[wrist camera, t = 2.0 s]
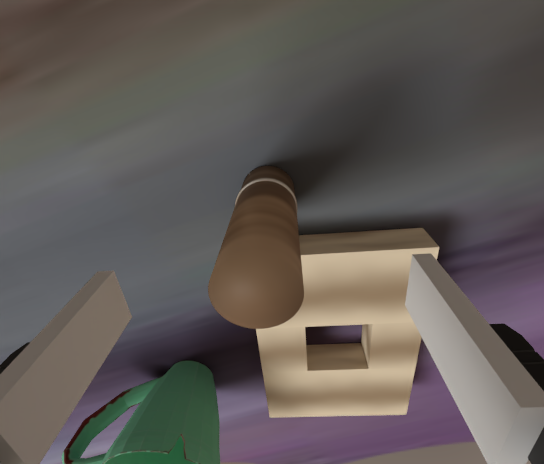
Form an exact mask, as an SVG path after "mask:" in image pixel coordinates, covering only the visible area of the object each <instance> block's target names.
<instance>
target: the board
mask: <svg viewBox="0 0 544 464" xmlns="http://www.w3.org/2000/svg"><path fill="white" fill-rule="evenodd" d="M299 243H300V253H301V264H302V274H303V285H304V299H303V303H302V305H301V307H300V309H299V311H298V312H297V313H296V314H295V315H294V316H293V317H292V318H291V319H289V320H288V321H286V322H285V323H283V324H281V325H278V326H275V327H271V328H265V329H256V333H257V339H258V345H259V352H260V358H261V365H262V371H263V377H264V384H265V390H266V397H267V403H268V409H269V416H270V418H271V417H317V416H363V415H406V413H407V408H408V403H409V398H410V393H411V388H412V383H413V378H414V373H415V368H416V363H417V358H418V353H419V348H420V343H421V338H422V337H421V335H420V333H419V331H418V329H417V327H416V325H415V324H414V322H413V320H412V318H411V316H410V314H409V312H408V310H407V308H406V306H405V301H406V294H407V287H408V280H409V273H410V266H411V259H412V254H428V253H431V254H432V255H433V256H434V258H435V259H436V260H437V257H438V252H439V246H438V245H437V244H436V243H435V241H434V240H433V239H432V238H431V237H430V236H429V235H428V233H427V232H426V231H425V230H424V229H423V228H409V229H393V230H377V231H361V232H345V233H330V234H314V235H299ZM339 325H362V339H361V343H347V344H320V345H306V333H305V327H315V326H339Z"/></svg>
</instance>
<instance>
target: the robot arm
mask: <svg viewBox="0 0 544 464" xmlns="http://www.w3.org/2000/svg"><path fill="white" fill-rule="evenodd" d="M405 306H406V308H407V310H408V312H409V314H410V316H411V318H412V320H413V322H414V324H415V325H416V327H417V329H418V331H419V333H420V335H421V337H422V339H423V341H424V343H425V345H426V347H427V349H428V350H429V352H430V354H431V356H432V358H433V360H434V362H435V364H436V366H437V368H438V370H439V372H440V373H441V375H442V377H443V379H444V381H445V383H446V385H447V387H448V389H449V391H450V393H451V395H452V396H453V398H454V400H455V402H456V404H457V406H458V408H459V410H460V412H461V414H462V416H463V418H464V419H465V421H466V423H467V425H468V427H469V429H470V431H471V433H472V435H473V437H474V439H475V441H476V442H477V444H478V446H479V448H480V450H481V452H482V454H483V456H484V458H485V460H486V462H487V464H526V463H527V461H528V459H529V460H530V462H531V464H544V360H543V358H542V357H541V356H540V355H539V354H538V353H537V352H535V351H534V349H533V347H532V346H531V345H530V344H529V343H528V342H527V341H526V340H525V339H524V337H523V336H522V335H520V334H519V333H517V332H516V331H514V330H513V329H511V328H510V327H508V326H507V325H505V324H488V322H487V321H486V320H485V319H484V318H483V316H482V315H481V314H480V313H479V311H478V310H477V309H476V308H475V307H474V305H473V304H472V303H471V302H470V300H469V299H468V298H467V297H466V296H465V294H464V293H463V292H462V291H461V289H460V288H459V287H458V286H457V285H456V283H455V282H454V281H453V280H452V278H451V277H450V276H449V275H448V274H447V272H446V271H445V270H444V269H443V267H442V266H441V265H440V264H439V263H438V261H437V260H436V259H435V258H434V256H433V255H432V254H431V253H428V254H412V259H411V266H410V273H409V280H408V287H407V294H406V301H405ZM131 318H132V316H131V313H130V311H129V308H128V306H127V303H126V301H125V298H124V296H123V293H122V290H121V288H120V285H119V283H118V280H117V278H116V275H115V273H114V271H100V272H97V273H96V274H95V275H94V276H93V277H92V278H91V279H90V280H89V281H88V282H87V283H86V284H85V285H84V287H83V288H82V289H81V290H80V291H79V292H78V293H77V294H76V295H75V296H74V297H73V298H72V299H71V300H70V301H69V302H68V303H67V304H66V306H65V307H64V308H63V309H62V310H61V311H60V312H59V313H58V314H57V315H56V316H55V317H54V318H53V319H52V320H51V321H50V322H49V323H48V325H47V326H46V327H45V328H44V329H43V330H42V331H41V332H40V333H39V334H38V335H37V336H36V337H35V338H34V339H33V340H32V341H31V342H29V343H26V344H25V345H23V346H22V347H20V348H19V349H18V350H16V351H15V352H13V353H12V354H11V355H10V356H9V357H8V358H7V359H6V360H5V361H4V362H3V363H2V364H1V365H0V463H1V464H40V462H41V461H42V459H43V457H44V456H45V454H46V453H47V451H48V450H49V448H50V446H51V445H52V443H53V442H54V440H55V438H56V437H57V435H58V434H59V432H60V430H61V429H62V427H63V426H64V424H65V423H66V421H67V419H68V418H69V416H70V415H71V413H72V411H73V410H74V408H75V407H76V405H77V403H78V402H79V400H80V399H81V397H82V395H83V394H84V392H85V391H86V389H87V388H88V386H89V384H90V383H91V381H92V380H93V378H94V376H95V375H96V373H97V372H98V370H99V368H100V367H101V365H102V364H103V362H104V361H105V359H106V357H107V356H108V354H109V353H110V351H111V349H112V348H113V346H114V345H115V343H116V341H117V340H118V338H119V337H120V335H121V334H122V332H123V330H124V329H125V327H126V326H127V324H128V322H129V321H130V319H131Z"/></svg>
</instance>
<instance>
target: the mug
mask: <svg viewBox="0 0 544 464" xmlns="http://www.w3.org/2000/svg"><path fill="white" fill-rule="evenodd" d="M139 403H140V404H139ZM137 404H139V406H138V407H137V409H136V410H135V412H134V413H133V415H132V416H131V418H130V419H129V421H128V422H127V424H126V425H125V427H124V428H123V430H122V431H121V433H120V434H119V436H118V437H117V438H116V440H115V441H114V443H113V444H112V446H111V447H110V449H109V450H108V452H107V453H105V454H102V455H98V456H94V457H91V458H87V459H85V458H80V457H81V455H82V454H83V452H84V451H85V449H86V448H87V446H88V445H89V443H90V442H91V440H92V439H93V438H94V437H95V436H97V435H98V434H99V433H100V432H101V431H102V430H104V429H105V428H106V427H107V426H108V425H110V424H111V423H112V422H113V421H114V420H116V419H117V418H118V417H119V416H120V415H122V414H123V413H124V412H125V411H126V410H128V409H129V408H130V407H132V406H134V405H137ZM62 462H63V464H220V453H219V414H218V405H217V395H216V389H215V384H214V379H213V374H212V372H211V370H210V369H209V368H208V367H206V366H205V365H203V364H201V363H199V362H195V361H181V362H178V363H176V364H174V365H173V366H172V367H171V368H170V369H169V370H168V371H167V373H166V374H165V375H164V376H162V377H159V378H157V379H154V380H151V381H149V382H146V383H144V384H141V385H139V386H136V387H133V388H131V389H128V390H126V391H123V392H122V393H121V394H119V395H118V396H117V397H115V398H114V399H112V400H111V401H110V402H108V403H107V404H106V405H104V406H103V407H101V408H100V409H99V410H97V411H96V412H95V413H93V414H92V415H90V416H89V417H88V418H86V419H85V420H84V421H83V422H82V424H81V426H80V427H79V429H78V430H77V432H76V433H75V435H74V436H73V438H72V439H71V441H70V442H69V444H68V445H67V447H66V448H65V450H64V452H63V454H62Z"/></svg>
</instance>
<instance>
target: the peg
mask: <svg viewBox="0 0 544 464" xmlns="http://www.w3.org/2000/svg"><path fill="white" fill-rule="evenodd" d="M208 293H209V298H210V301H211V303H212V305H213V306H214V308H215V309H216V311H217V312H218V313H219V314H220V315H221V316H222V317H224V318H225V319H227V320H228V321H230V322H232V323H234V324H236V325H239V326H242V327H246V328H253V329H265V328H271V327H275V326H278V325H281V324H283V323H285V322H286V321H288V320H289V319H291V318H292V317H293V316H294V315H295V314H296V313H297V312H298V311H299V309H300V307H301V305H302V303H303V299H304V285H303V274H302V264H301V253H300V243H299V232H298V222H297V201H296V197H295V191H294V184H293V182H292V179H291V178H290V176H289V175H288V174H287V173H286V172H285V171H283V170H282V169H280V168H278V167H274V166H261V167H258V168H256V169H254V170H252V171H251V172H250V173H249V174H248V175H247V176H246V178H245V180H244V182H243V185H242V188H241V190H240V192H239V194H238V196H237V199H236V202H235V208H234V211H233V214H232V217H231V220H230V223H229V226H228V229H227V231H226V234H225V237H224V240H223V243H222V246H221V249H220V252H219V255H218V258H217V260H216V263H215V266H214V269H213V272H212V275H211V278H210V281H209V286H208Z"/></svg>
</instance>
